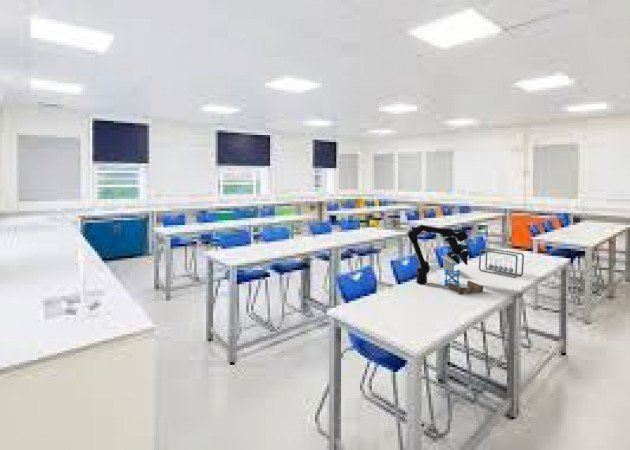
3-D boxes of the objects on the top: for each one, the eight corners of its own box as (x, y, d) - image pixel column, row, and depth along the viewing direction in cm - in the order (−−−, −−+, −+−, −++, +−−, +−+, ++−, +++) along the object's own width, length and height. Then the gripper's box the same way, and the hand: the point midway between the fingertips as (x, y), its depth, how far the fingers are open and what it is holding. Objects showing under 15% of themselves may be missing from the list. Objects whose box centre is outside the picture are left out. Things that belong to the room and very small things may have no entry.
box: (461, 294, 241) (461, 288, 241) (448, 288, 255) (448, 282, 255) (482, 292, 246) (483, 286, 245) (468, 286, 259) (468, 280, 259)
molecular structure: (459, 283, 267) (459, 269, 266) (459, 287, 258) (460, 272, 257) (444, 282, 271) (444, 268, 270) (444, 285, 261) (444, 271, 260)
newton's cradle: (523, 276, 284) (524, 253, 282) (516, 278, 278) (517, 255, 276) (485, 269, 308) (486, 247, 306) (478, 270, 302) (479, 249, 300)
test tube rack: (456, 276, 285) (457, 259, 284) (450, 276, 285) (451, 259, 284) (446, 269, 310) (446, 253, 309) (440, 269, 310) (441, 253, 309)
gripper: (471, 239, 257) (480, 259, 258) (455, 239, 275) (463, 258, 276) (458, 246, 254) (467, 267, 255) (442, 246, 272) (451, 265, 273)
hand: (462, 264), depth 265 cm, fingers open, 9 cm apart
